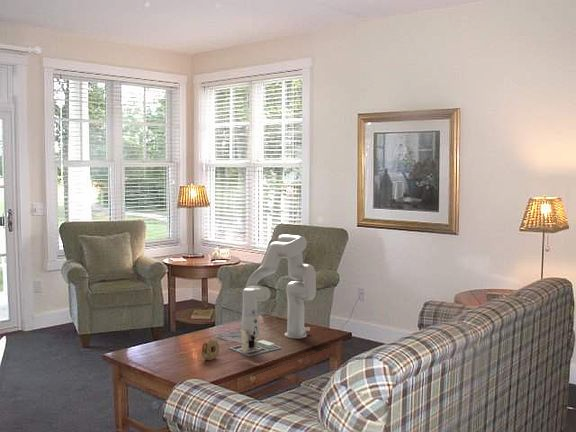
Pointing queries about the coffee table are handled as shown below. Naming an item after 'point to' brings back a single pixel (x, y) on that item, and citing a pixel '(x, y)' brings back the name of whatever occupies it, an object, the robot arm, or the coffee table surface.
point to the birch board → (247, 342)
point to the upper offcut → (265, 344)
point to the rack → (254, 350)
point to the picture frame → (233, 336)
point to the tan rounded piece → (206, 348)
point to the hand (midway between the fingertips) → (249, 346)
